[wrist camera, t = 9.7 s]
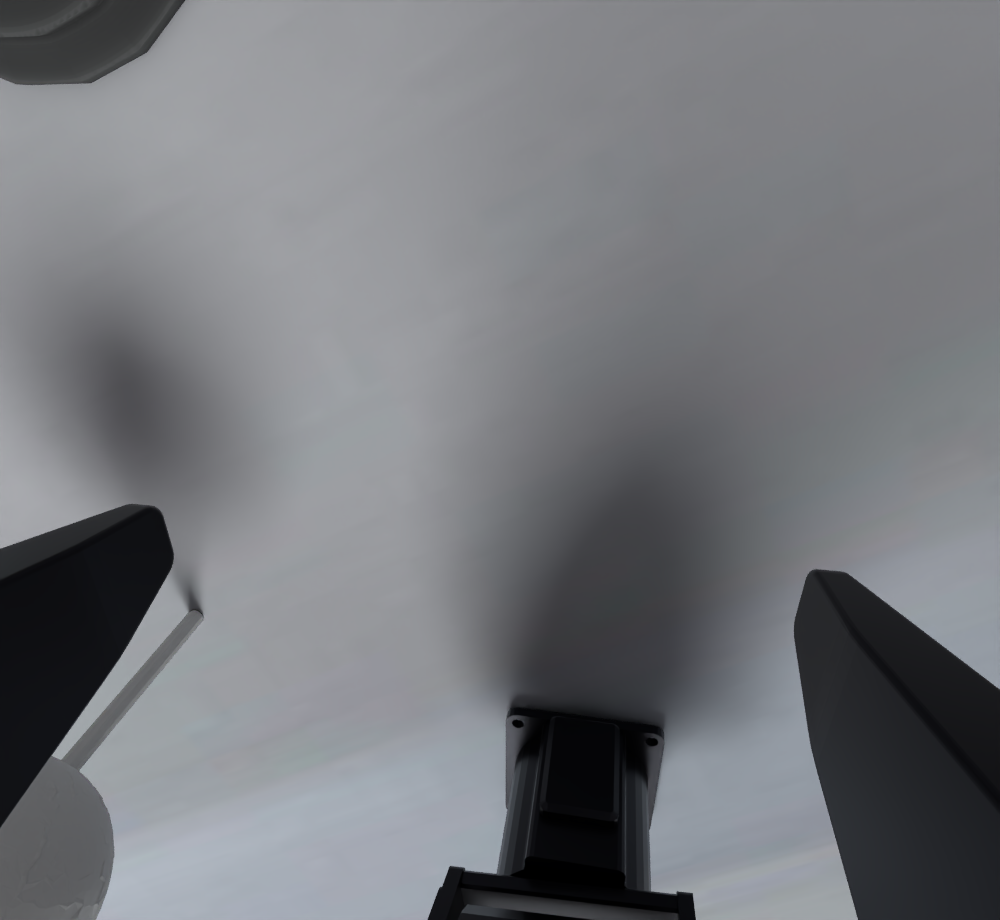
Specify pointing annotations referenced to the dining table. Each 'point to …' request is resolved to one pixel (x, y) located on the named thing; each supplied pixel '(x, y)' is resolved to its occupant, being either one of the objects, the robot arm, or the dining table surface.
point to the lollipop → (71, 818)
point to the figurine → (76, 37)
